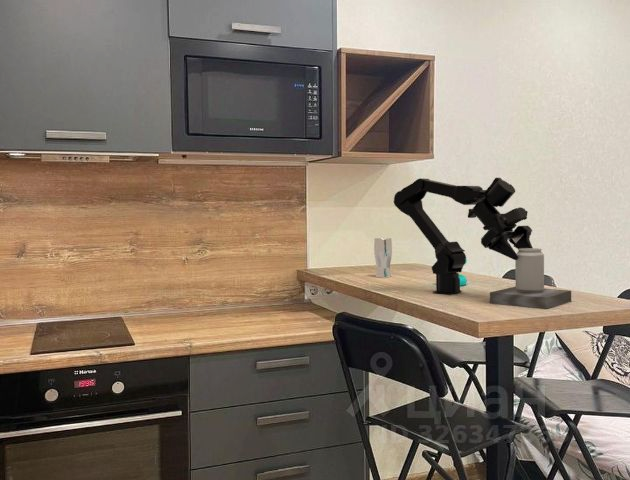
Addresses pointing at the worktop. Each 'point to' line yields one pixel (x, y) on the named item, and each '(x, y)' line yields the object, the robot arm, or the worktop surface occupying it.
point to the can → (529, 270)
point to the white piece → (383, 256)
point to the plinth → (531, 298)
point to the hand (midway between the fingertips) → (526, 258)
